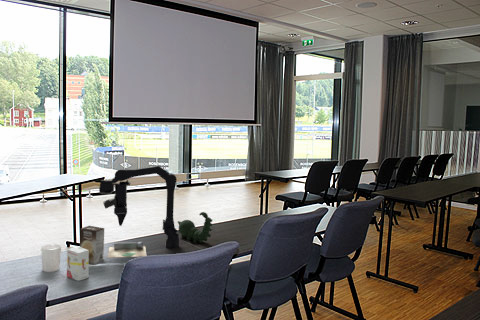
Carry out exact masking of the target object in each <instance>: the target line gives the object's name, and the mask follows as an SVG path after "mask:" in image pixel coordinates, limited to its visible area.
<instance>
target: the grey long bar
mask: <svg viewBox="0 0 480 320" xmlns="http://www.w3.org/2000/svg"><path fill="white" fill-rule="evenodd" d="M113 245H114V246H113V247H114V249H143V246H144V241H136V242H133V241H132V242H130V241H129V242H114V243H113Z"/></svg>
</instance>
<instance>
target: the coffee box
mask: <svg viewBox="0 0 480 320" xmlns="http://www.w3.org/2000/svg"><path fill="white" fill-rule="evenodd" d="M79 230H80V231H79V233H80V234H79V235H80V237H79V247H81V248H84V249H87V250H88V251H89V265H91V266H96V265H99V264H100V263H99V262H101V261H104V255H105V254H104V253H105V252H104V250H105V248H104V247H105V228H104V227H98V226H95V225H93V226H92V225H87V226H84V227H81V228H80V229H79Z"/></svg>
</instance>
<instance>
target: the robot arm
mask: <svg viewBox="0 0 480 320" xmlns="http://www.w3.org/2000/svg"><path fill="white" fill-rule="evenodd" d="M148 175H158V177H160V178H162V179H163V180H164V181H165V187H166V215H165V216H166V217H165V219H162V231H163V232H164V234H165V235H166V239H165V245H164V247H165V248H166V249H177V248H180V236H179V235H180V233H179V230H178V229H177V228H175V220H174V207H175V206H174V205H175V204H174V202H175V201H174V200H175V189H176V185H177V175H176V174H174V173H172V172H169V171H167V170H166V169H165V168H163V167H161V165H154V166H148V167H141V168H119V169H117V170H116V171H115V173H114V177H113V178H112V179H111V180H105V179H101V180H100V181H99V182H100V183H99V187H98V191H99V194H112V193H113V192H114V197H112V198H108V199H107V200H105V201H103V206H104V208H105V209H109V208H111V207H114V208H113V213H114V215H115V216H116V217H117V220H118V224H119V225H118V226H120V227H122V225H123V224H124V221H125V219H126V216H127V214H128V208H127V207H128V203H127V197H128V195H127V193H128V189H127V187H128V186H130V185H131V182H130V181H129V179H131V178H132V179H133V178H135V177H141V176H148Z"/></svg>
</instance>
